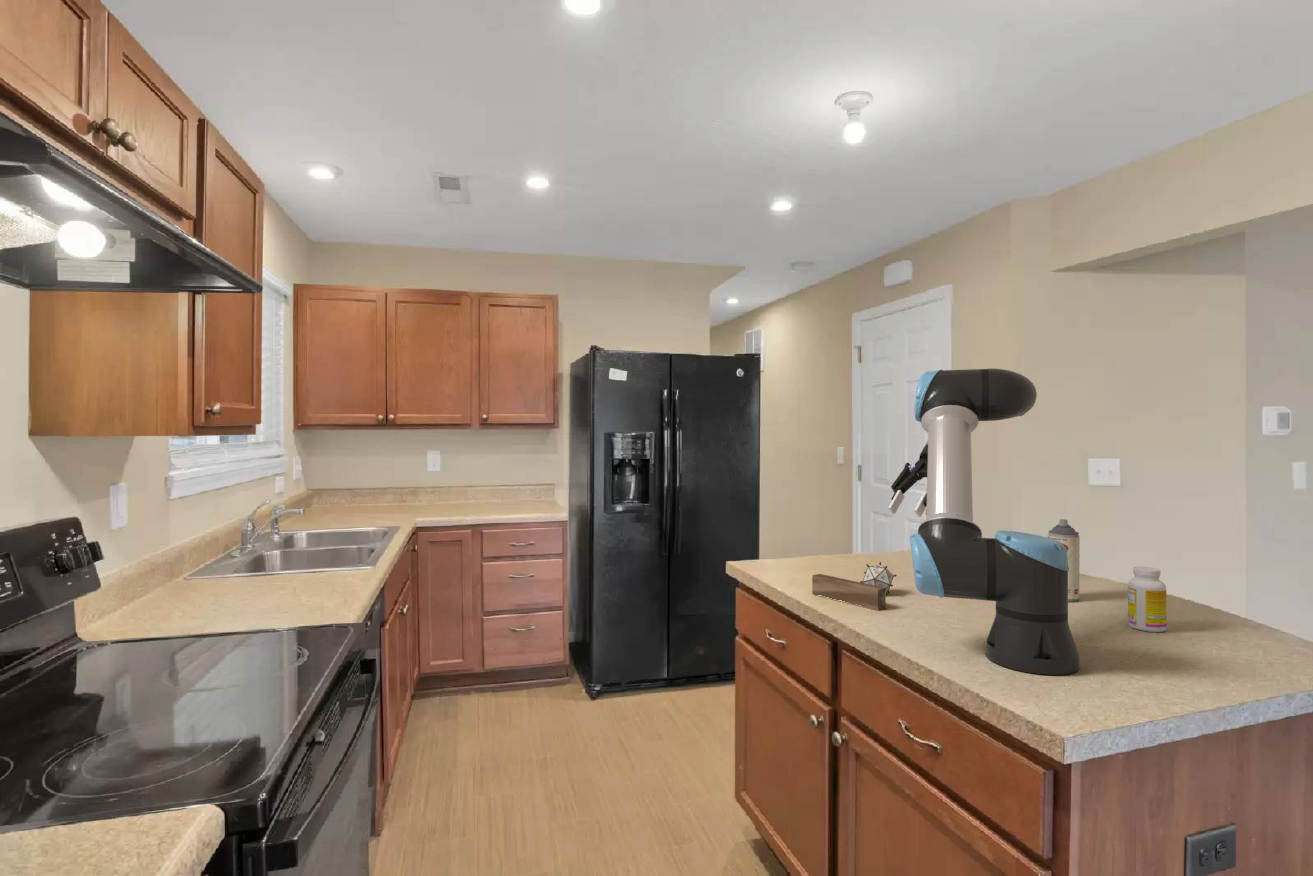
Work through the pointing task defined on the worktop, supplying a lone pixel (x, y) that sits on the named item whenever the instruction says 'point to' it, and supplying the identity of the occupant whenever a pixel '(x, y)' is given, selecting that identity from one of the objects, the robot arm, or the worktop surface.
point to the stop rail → (849, 591)
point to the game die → (878, 576)
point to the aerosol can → (1069, 555)
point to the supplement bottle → (1147, 600)
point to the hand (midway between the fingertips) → (904, 512)
